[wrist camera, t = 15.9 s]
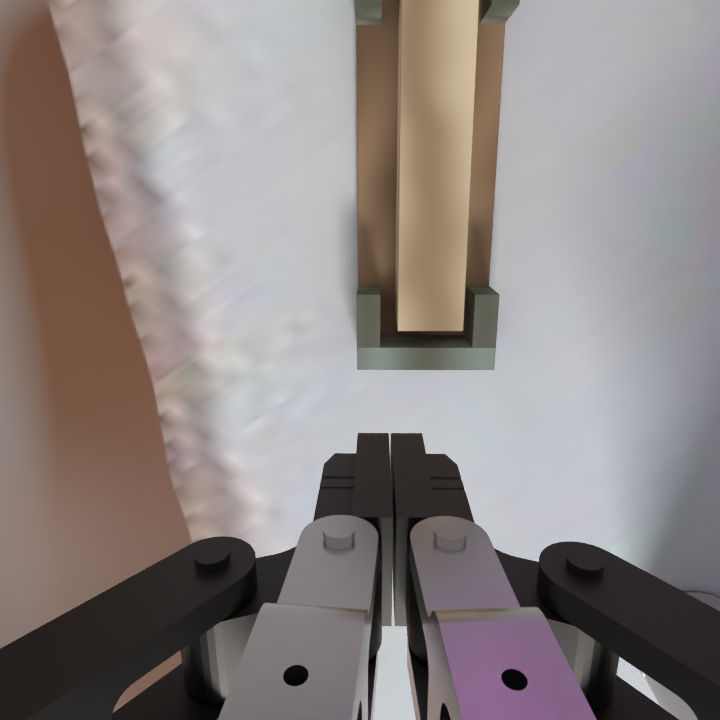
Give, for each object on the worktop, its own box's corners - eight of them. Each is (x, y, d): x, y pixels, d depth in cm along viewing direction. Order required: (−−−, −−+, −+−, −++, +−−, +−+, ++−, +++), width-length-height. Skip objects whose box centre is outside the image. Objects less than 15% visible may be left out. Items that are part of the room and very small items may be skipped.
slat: (466, -16, 33) (481, -52, 28) (452, 313, 39) (463, 330, 34) (398, -14, 33) (402, -50, 28) (395, 314, 39) (397, 331, 34)
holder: (509, -71, 32) (526, -106, 29) (482, 352, 40) (494, 369, 36) (356, -68, 33) (353, -103, 29) (359, 352, 40) (357, 369, 36)
